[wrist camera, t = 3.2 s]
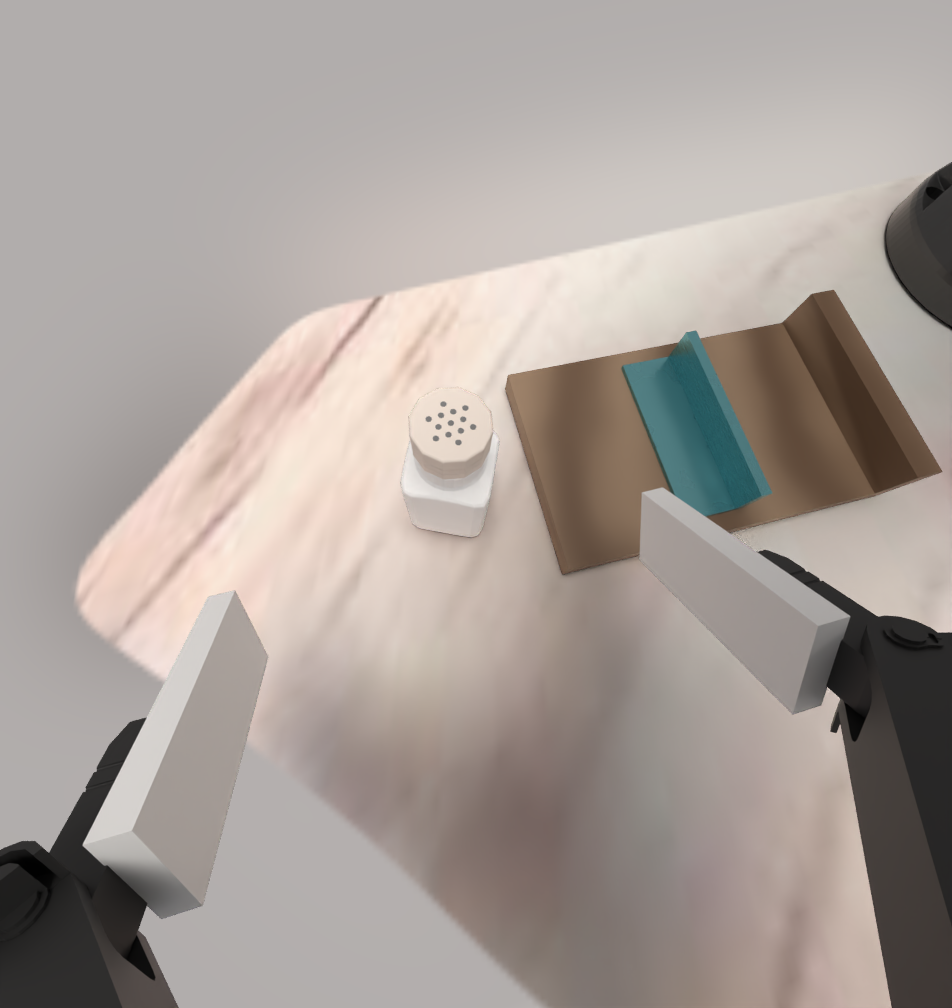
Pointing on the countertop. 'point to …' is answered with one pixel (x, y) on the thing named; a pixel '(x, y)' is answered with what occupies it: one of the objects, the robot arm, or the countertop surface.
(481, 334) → the countertop surface
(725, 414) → the bookend
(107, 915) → the robot arm
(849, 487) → the shelf board
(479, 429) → the pepper shaker
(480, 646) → the countertop surface
